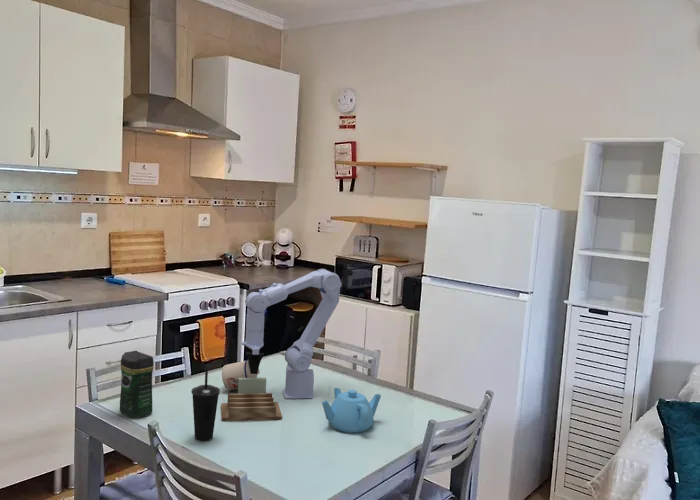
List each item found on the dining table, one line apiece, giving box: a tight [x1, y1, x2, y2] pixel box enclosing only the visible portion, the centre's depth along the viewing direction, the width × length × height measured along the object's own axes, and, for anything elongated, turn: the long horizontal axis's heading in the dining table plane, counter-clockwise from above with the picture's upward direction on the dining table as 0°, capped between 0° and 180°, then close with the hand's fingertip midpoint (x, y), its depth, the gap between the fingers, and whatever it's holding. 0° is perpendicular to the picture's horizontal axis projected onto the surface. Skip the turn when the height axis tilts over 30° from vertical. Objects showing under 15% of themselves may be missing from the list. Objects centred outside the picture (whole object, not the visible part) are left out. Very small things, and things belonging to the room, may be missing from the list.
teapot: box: [321, 387, 382, 434], centre depth 181 cm, size 15×15×11 cm
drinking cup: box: [190, 366, 221, 442], centre depth 165 cm, size 8×8×20 cm
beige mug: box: [221, 359, 261, 391], centre depth 204 cm, size 12×9×12 cm
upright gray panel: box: [237, 377, 267, 394], centre depth 197 cm, size 9×2×7 cm, turn 103°
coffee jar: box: [119, 350, 155, 419], centre depth 178 cm, size 10×8×19 cm
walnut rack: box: [220, 392, 283, 422], centre depth 185 cm, size 18×12×4 cm
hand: (253, 369), depth 196 cm, fingers open, 7 cm apart
